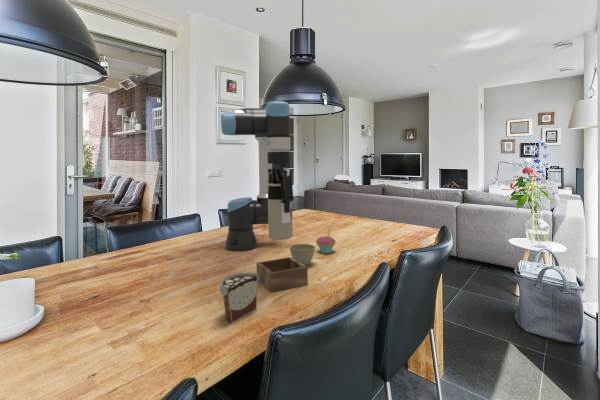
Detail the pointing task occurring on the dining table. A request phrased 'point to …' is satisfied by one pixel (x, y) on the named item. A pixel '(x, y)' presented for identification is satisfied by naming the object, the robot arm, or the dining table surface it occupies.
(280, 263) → the open box
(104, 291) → the dining table surface
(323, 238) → the cupcake
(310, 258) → the flower pot
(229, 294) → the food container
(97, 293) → the dining table surface
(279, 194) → the travel mug
